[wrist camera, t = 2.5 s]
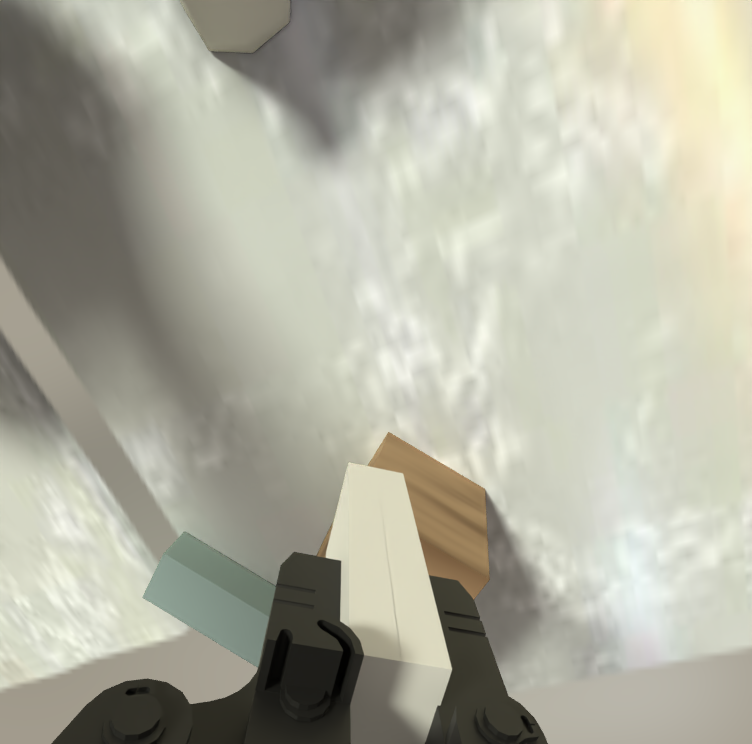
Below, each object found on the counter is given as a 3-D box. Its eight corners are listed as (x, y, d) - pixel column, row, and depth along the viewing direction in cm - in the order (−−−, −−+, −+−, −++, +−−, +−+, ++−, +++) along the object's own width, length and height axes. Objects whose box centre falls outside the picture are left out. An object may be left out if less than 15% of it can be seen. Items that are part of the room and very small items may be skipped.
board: (184, 531, 42) (163, 553, 39) (372, 644, 42) (364, 674, 39) (163, 573, 44) (142, 597, 41) (344, 682, 43) (335, 714, 40)
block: (388, 431, 37) (359, 502, 27) (484, 488, 36) (489, 579, 27) (332, 522, 39) (288, 614, 30) (421, 575, 39) (405, 685, 30)
